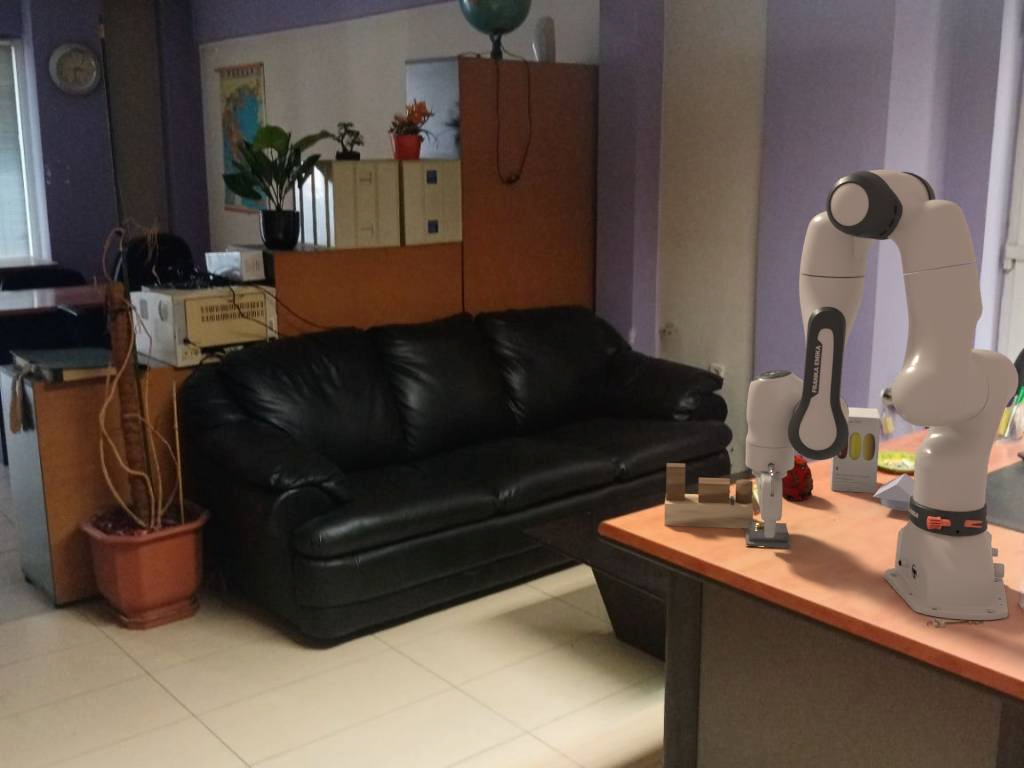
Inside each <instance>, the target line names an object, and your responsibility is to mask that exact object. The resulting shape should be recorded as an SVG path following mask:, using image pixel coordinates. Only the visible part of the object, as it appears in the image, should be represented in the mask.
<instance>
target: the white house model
mask: <svg viewBox="0 0 1024 768" xmlns="http://www.w3.org/2000/svg"><path fill="white" fill-rule="evenodd" d="M913 485H914V478H912V476H910V475H908V474H907V472H906V473H903V474H900V475H899V476H897V477H895V478H893V479H892V480H890V481H888V482H886V483H883V484H882V485H881V486H880V487H879V489H878V490H876V493H874V495H873V496H872V498H877V499H880V503H881V505H884V507H886V508H888V509H891V510H896V511H903V512H909V510H908V508H909V503H910V497H911V496H912V495H913Z"/></svg>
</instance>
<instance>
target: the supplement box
mask: <svg viewBox="0 0 1024 768" xmlns="http://www.w3.org/2000/svg"><path fill="white" fill-rule="evenodd" d="M848 409H849V421H848V430H849V437H848V441H847V444H846V446H845V448H844V449H843V450H842V451H841V452H840V453H839V454H838V455H836V456H834V457H832V458H830V471H829V472H830V473H829V474H830V478H829V480H830V482H829V483H830V490H831V491H834V492H835V491H837V492H849V493H850V492H851V493H863V494H865V493H866V494H876V492H877V481H878V480H877V479H878V478H877V477H878V465H879V463H878V462H879V450H880V434H881V431H880V430H881V415H880V413H879V409H878V408H876V407H875V408H867V407H865V408H864V407H848Z"/></svg>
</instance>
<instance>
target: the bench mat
mask: <svg viewBox="0 0 1024 768" xmlns="http://www.w3.org/2000/svg"><path fill="white" fill-rule="evenodd" d="M744 535H745V536H744V537H746V538H745V546H746V545H748V546H764V547H782V548H781V549H785V548H791V547H792V544H791V540H790V536H789V533H788V541H787V543H784V542H762V541H749V537H748V529H744ZM764 547H763V548H764ZM783 547H784V548H783Z"/></svg>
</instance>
